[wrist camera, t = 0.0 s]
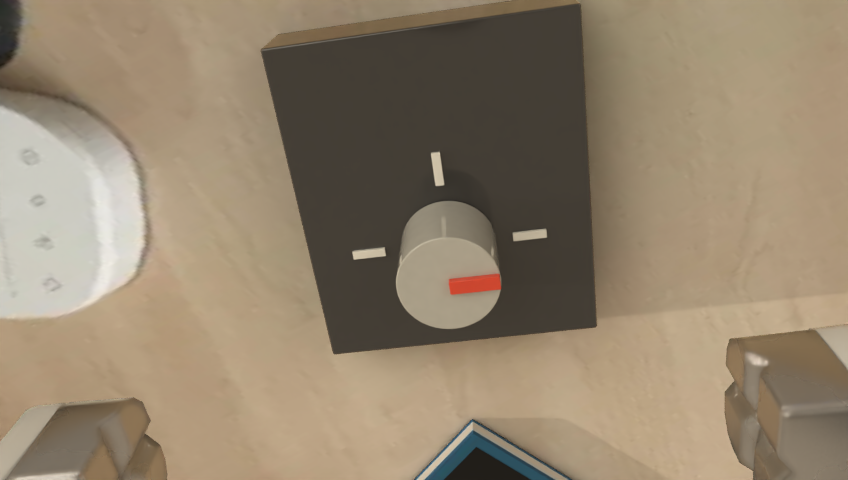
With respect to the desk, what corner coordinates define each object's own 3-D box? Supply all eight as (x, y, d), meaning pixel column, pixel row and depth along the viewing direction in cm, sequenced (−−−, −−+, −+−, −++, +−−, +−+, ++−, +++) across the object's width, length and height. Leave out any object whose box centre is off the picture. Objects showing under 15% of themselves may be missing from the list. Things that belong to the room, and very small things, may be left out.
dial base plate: (276, 34, 30) (258, 50, 28) (569, -9, 29) (582, 3, 26) (341, 320, 36) (332, 357, 34) (586, 293, 35) (598, 330, 32)
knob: (409, 290, 32) (403, 338, 29) (394, 206, 30) (387, 247, 27) (500, 279, 32) (507, 328, 28) (491, 194, 30) (496, 235, 26)
